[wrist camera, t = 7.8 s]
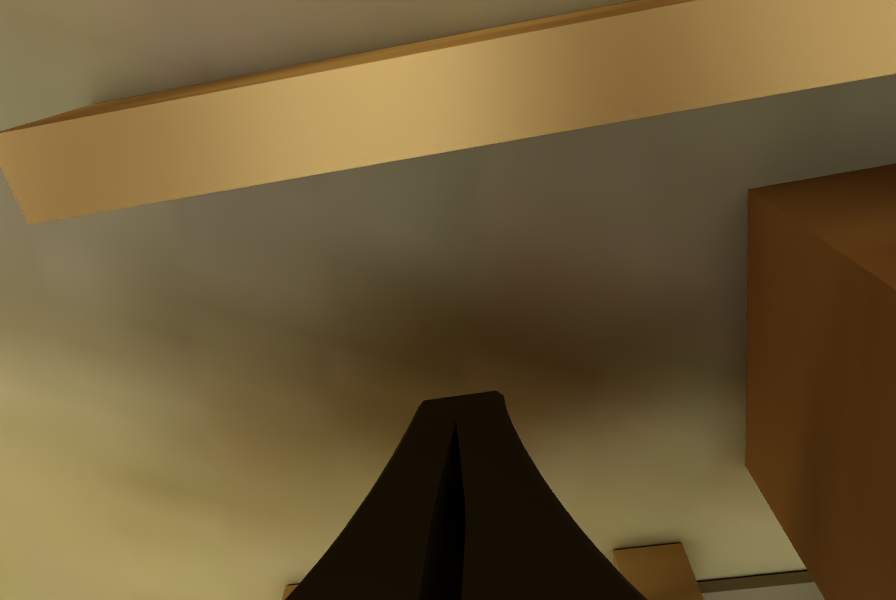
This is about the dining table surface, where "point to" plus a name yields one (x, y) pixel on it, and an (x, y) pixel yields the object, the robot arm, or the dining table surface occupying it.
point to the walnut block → (826, 373)
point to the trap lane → (457, 129)
